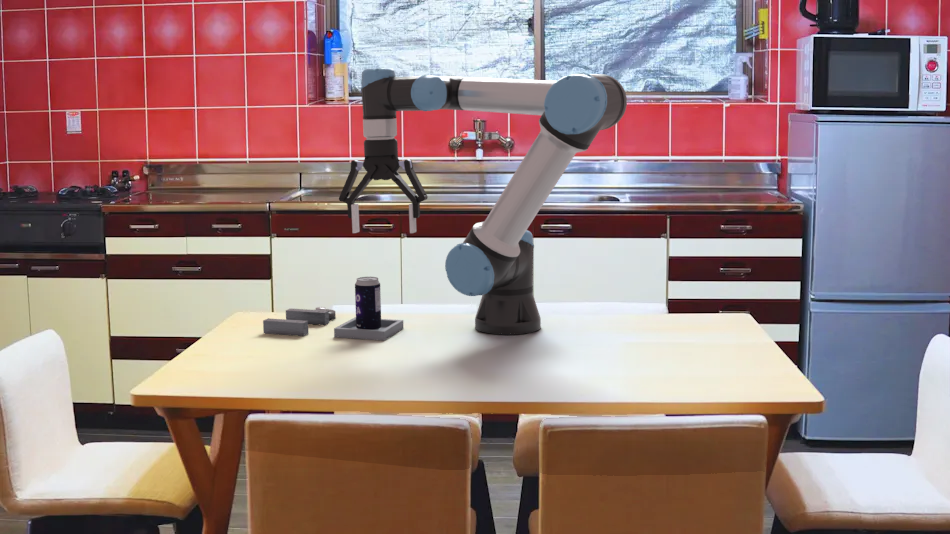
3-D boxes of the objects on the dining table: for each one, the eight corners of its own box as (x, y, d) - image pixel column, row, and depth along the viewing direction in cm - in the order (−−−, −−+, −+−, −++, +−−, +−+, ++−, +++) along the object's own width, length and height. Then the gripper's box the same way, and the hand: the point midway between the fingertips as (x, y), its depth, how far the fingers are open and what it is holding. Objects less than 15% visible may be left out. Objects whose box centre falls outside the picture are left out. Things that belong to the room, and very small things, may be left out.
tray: (403, 328, 254) (403, 320, 253) (384, 340, 242) (384, 331, 242) (355, 325, 257) (355, 317, 257) (334, 337, 246) (334, 328, 245)
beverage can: (368, 326, 253) (367, 275, 251) (386, 330, 250) (385, 278, 248) (351, 331, 249) (349, 279, 247) (368, 334, 246) (367, 281, 243)
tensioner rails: (342, 316, 267) (341, 304, 266) (303, 336, 247) (303, 323, 246) (304, 314, 270) (304, 302, 269) (263, 333, 250) (263, 320, 249)
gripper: (438, 136, 247) (441, 230, 250) (333, 138, 253) (338, 230, 256) (429, 138, 240) (433, 234, 243) (321, 140, 246) (326, 234, 249)
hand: (384, 232), depth 250 cm, fingers open, 13 cm apart
